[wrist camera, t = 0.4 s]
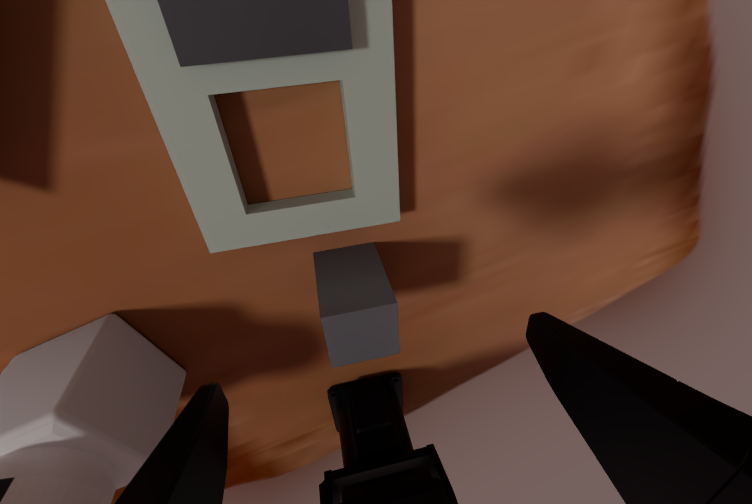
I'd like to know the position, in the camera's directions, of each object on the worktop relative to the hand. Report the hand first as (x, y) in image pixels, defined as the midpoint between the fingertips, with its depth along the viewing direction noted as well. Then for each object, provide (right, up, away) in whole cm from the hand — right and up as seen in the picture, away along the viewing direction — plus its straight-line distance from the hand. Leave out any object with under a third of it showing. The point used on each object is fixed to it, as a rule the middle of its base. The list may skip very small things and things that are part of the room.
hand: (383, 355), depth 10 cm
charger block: (-2, +2, +14) cm, 14 cm away
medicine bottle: (-18, -5, +14) cm, 24 cm away
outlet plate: (-5, +10, +8) cm, 14 cm away
